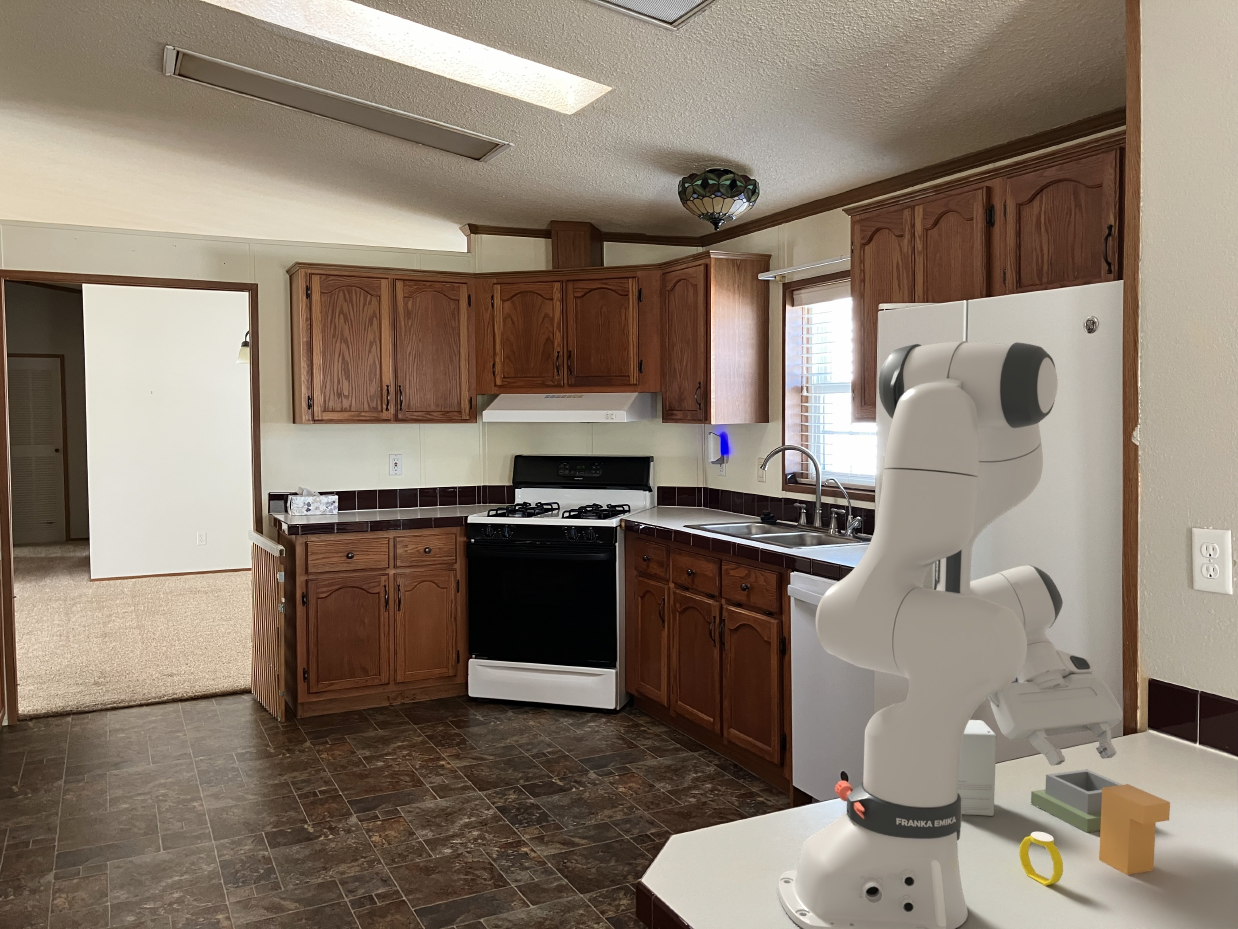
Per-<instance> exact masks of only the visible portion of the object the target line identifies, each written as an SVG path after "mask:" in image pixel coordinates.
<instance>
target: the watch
mask: <svg viewBox="0 0 1238 929" xmlns="http://www.w3.org/2000/svg"><path fill="white" fill-rule="evenodd" d="M1032 843H1034V844H1036V845H1038V846H1042V847H1045V848H1046V850H1047V851H1048V853H1049V855H1050V856H1051V857H1050V858H1051V860H1052V864H1053V865H1052V866H1053V868H1052V869H1053V873H1052V875H1051V878H1050V879H1048V878H1046V877H1044V876H1043V875H1041V874H1039V873H1037V872H1036V870H1035V869H1034V867H1033V865H1032V864H1031V860H1030V855H1029V853H1030V852H1029V850H1030V844H1032ZM1018 853H1019V859H1020V864H1021V866H1022V867H1021V868H1022V869H1023V870H1024V872H1025V874H1026V875H1027V876H1028V877H1029V878H1031V879H1033V880H1035V881H1036V882H1038V883H1039V884H1042V886H1045V887H1046V886H1051V885H1054V884H1056V883H1059V881H1060V880H1061V879H1062V876H1063V875H1064V874H1063V872H1064V862H1063V858H1062V856H1061V853H1060V850H1059V849H1058V847H1057V846H1056V845H1055V839H1054V836H1052V835H1051V834H1049V833H1048V832H1044V831H1043V832H1042V831H1032V832H1031V833H1030V835H1029V836H1026V837H1024V838H1023V840H1022V841H1021V843H1020V845H1019V852H1018Z"/></svg>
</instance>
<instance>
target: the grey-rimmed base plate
mask: <svg viewBox="0 0 1238 929" xmlns="http://www.w3.org/2000/svg"><path fill="white" fill-rule="evenodd" d="M1118 785H1123V783H1120V782H1118V781H1115V780H1113V779H1110V778H1108V777H1106V776H1104V775H1101V774H1099V773H1096V772H1094V771H1092V770H1090V769H1088V768H1086V769H1078V770H1070V771H1064V772H1063V771H1062V772H1056V773H1048V774H1045V789H1038V790H1037V789H1036V790H1032V791H1031V793H1030V804H1031V803H1032V804H1033V806H1034V805H1035V806H1034V807H1036V806H1038V807H1040V808H1041V809H1040V808H1039V809H1040V810H1042V809H1043V811H1044V810H1045V811H1044V812H1046V811H1047V812H1046V813H1048V814H1051V815H1052V814H1053V815H1052V816H1054V817H1056V818H1058V819H1059V818H1060V819H1059V820H1061V819H1062V821H1063V820H1064V822H1065V823H1068V824H1070V825H1071V826H1073V827H1075V828H1077V829H1079V830H1081V831H1083V832H1084V833H1092V832H1093V831H1094V832H1098V831H1099V830H1100V828H1101V806H1102V788H1104V787H1111V786H1118ZM1032 804H1031V805H1032ZM1038 807H1037V808H1038Z"/></svg>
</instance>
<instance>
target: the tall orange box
mask: <svg viewBox="0 0 1238 929" xmlns="http://www.w3.org/2000/svg"><path fill="white" fill-rule="evenodd" d="M1170 810H1171V802H1170V801H1168V800H1166V799H1163V798H1162V797H1159V796H1157V795H1154V794H1152V793H1150V792H1147V791H1145V790H1144V789H1140V788H1138V787H1136V786H1133V785H1131V784H1128V783H1127V784H1126V783H1125V784H1122V785H1118V786H1111V787H1104V788H1102V806H1101V828H1100V832H1099V833H1100V834H1099V852H1098V854H1099V856H1098V860H1099V861H1100V862H1102V863H1104V864H1106V865H1108V866H1110V867H1111V868H1112V869H1113V868H1114V869H1116V870H1117V871H1119V872H1121V873H1123V874H1124V875H1127V876H1129V875H1135V874H1140V873H1146V872H1151V871H1154V867H1155V866H1154V865H1155V846H1156V845H1155V843H1156V827H1157V826H1156V825H1157V824H1156V823H1161V822H1166V821H1170V812H1171V811H1170Z"/></svg>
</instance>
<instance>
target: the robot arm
mask: <svg viewBox="0 0 1238 929" xmlns="http://www.w3.org/2000/svg"><path fill="white" fill-rule="evenodd" d="M879 372H880V373H879V378H878V395H879V399H880V403H881V405H882V407H883V409H884V411H885V412H886V413H887V415H888V416H889V417H890V418H891V419H892V420H891V423H890V428H889V433H888V437H887V441H886V442H887V443H886V448H885V455H884V462H883V470H882V471H883V472H882V481H881V490H880V496H879V505H878V509H877V510H878V511H877V518H876V523H875V527H874V532H873V535H872V538H871V540H870V542H869V544H868V546H867V549H866V551H865V552H864V553H863V555H862V557H861V558H860V560H859V562H858V563H857V564H856V565H855V567H854V568H853V569H852V571H850V572H849V573H848V574H847V575H846V576H845V577H843V578H842V579H840V580H839V581H837V582H836V583H834V584H833V585H832V586H830V587H829V588H828V589H827V590H826V591H825V593H824V594H823V595H822V597H821V598H820V599H819V600H820V601H819V603H818V605H817V609H816V612H815V629H816V630H815V632H816V634H817V637H818V641H819V643H820V645H821V646H822V648H823V650H824V651H826V652H827V653H828V654H830V655H832V656H834V657H836V658H837V659H840V660H842V661H844V662H847V663H849V664H851V665H854V666H855V667H858V668H862V669H867V670H872V671H876V672H881V673H885V674H890V675H895V676H899V677H902V678H903V677H904V678H906V679H907V680H908V692H907V695H906V699H905V700H904V701H901V702H896V703H893V704H891V705H889V706H886V707H884V708H883V707H882V708H881V709H879V710H878V711H877V712H875V713H874V714H873V715H872V716H871V718H870V719H869V721H868V722H867V725H866V726H865V729H864V745H863V746H864V747H863V748H864V749H863V780H861V782H860V783H859V785H858V786H856V787H855V788H853V787H852V785H851V784H850V783H849V782H848V781H846V780H840V781H838V782H837V784H835V787H834V790H835V791H834V792H835V793H836V794H837V796H838V797H839V799H840V800H841V801H843V802H846V812H845V813H844V814H842V815H841V816H840V817H837V818H836V819H835V820H834V821H832V822H831V823H829V824H827V825H826V826H824V827H823V828H821V829H820V830H818V831H817V832H815V833H814V834H812V835H810V836H809V837H808V838H806V840H805V841H804V843H803V844H802V845H801V849H800V852H799V856H798V861H797V865H796V866H797V867H796V869H794V870H793V869H792V870H785V871H784V872H783V873H781V875H780V876H779V879H778V885H777V895H778V898H779V900H780V904H781V905H782V907H783V909H784V911H785V913H787V915H788V916H789V918H790V919H791V920H792V921H793V922H794V923H795V924H797V926H799V927H800V928H802V929H956V928H959V927H960V926H962V925H963V924H964V923H965V922H966V920H967V919H968V916H969V911H968V907H967V904H966V899H965V895H964V891H963V884H962V878H961V871H960V861H959V850H958V849H959V847H958V846H959V845H958V842H959V840H960V838H961V827H962V816H963V814H961V797H960V794H959V793H958V776H959V763H960V754H961V745H962V739H963V735H964V731H965V728H966V726H967V724H968V722H969V720H971V718H972V716H973V715H974V713H975V711H976V710H977V709H978V708H979V706H980V705H981V704H982V703H983V702H985V701H986V700H987V699H988V700H989V701H990V706H991V710H992V713H993V716H994V718H995V721H996V723H997V726H998V728H999V729H1000V732H1001V734H1002V735H1003V736H1004V737H1005V738H1007V739H1008V740H1009V741H1019V740H1020V741H1021V740H1028V741H1029V743H1031V746H1032V747H1034V748H1035V749H1036V750H1037V751H1038V752H1040V753H1041V754H1042V755H1043V756H1044V757H1045V758H1046V760H1047V762H1048V764H1049V765H1050V766H1051V767H1052V766H1059V765H1062V763H1065V760H1066V757H1065V756H1064V754H1063V752H1062V750H1061V748H1055V746H1053V745H1052V744H1051V743H1050V742H1049V741H1048V740H1047V738H1048V737H1054V736H1060V735H1061V736H1063V735H1070V734H1077V733H1087V732H1088V733H1089V732H1091V734H1092V735H1093V737H1095V738H1098V739H1097V740H1098V745H1099V746H1097V747H1096V748H1095V750H1096V751H1097V753H1098V754H1099V757H1100V758H1101V759H1103V760H1104V759H1105V760H1106V759H1112V758H1113V757H1114V756H1116V755H1117V750H1116V748H1115V747H1114V745H1113V743H1112V730H1111V729H1112V728H1113V727H1114V726H1116V725H1118V724H1119V723H1120V722H1122V719H1123V709H1122V707H1121V705H1120V703H1119V702H1118V701H1117V699H1116V697H1115V695H1114V694H1113V692H1112V691H1111V689H1110V688H1109V686H1108V685H1107V683H1106V682H1105V681H1104V680H1103V679H1102V678H1101V677H1100V676H1099V675H1097V674H1095V673H1094V671H1096V666H1095V665H1094V663H1093V661H1092V660H1091V659H1089V658H1088V657H1083V656H1080V655H1075V654H1073V653H1072V654H1071V653H1068V652H1067V651H1063V650H1060V649H1057V648H1056V646H1055V645H1054V644H1053V642H1052V641H1050V639H1049V638H1048V637H1047V635H1046V631H1047V629H1051V628H1052V627H1053V625H1054V624H1055V623H1056V620H1057V619H1058V616H1060V613H1061V610H1062V608H1063V597H1062V595H1061V593H1060V591H1059V589H1058V587H1057V585H1056V584H1055V582H1054V581H1053V579H1052V578H1051V576H1050V575H1049V574H1048V573H1046V572H1045V571H1044V570H1042V569H1041V568H1039V567H1037V566H1034V565H1031V564H1027V565H1019V566H1016V567H1012V568H1009V569H1005V570H1002V571H998V572H996V573H993V574H991V575H986V576H984V577H981V578H978V579H973V580H971V579H972V578H971V576H972V575H971V574H972V554H973V547H974V544H975V542H976V540H977V538H978V536H980V535H981V533H982V532H983V531H984V530H985V529H986V528H987V527H988V526H990V525H991V524H992V523H994V522H995V520H997V519H998V518H1000V517H1001V516H1003V515H1004V514H1006V513H1008V512H1009V511H1011V510H1012V509H1013V508H1015V507H1017V506H1018V505H1020V504H1021V503H1023V502H1024V501H1026V499H1027V498H1028V497H1029V496H1030V495H1031V494H1032V493H1033V492H1034V490H1035V489H1036V488H1037V487H1038V485H1039V483H1040V480H1041V478H1042V473H1043V466H1044V460H1043V459H1044V457H1043V448H1042V447H1043V445H1042V437H1041V431H1040V424H1039V423H1040V422H1042V421H1043V420H1044V419H1045V418H1046V417H1048V416H1049V414H1050V413H1051V412H1052V409H1053V408H1054V404H1055V401H1056V397H1057V394H1058V383H1059V381H1058V375H1057V374H1058V373H1057V370H1056V365H1055V361H1054V360H1053V357H1052V356H1051V355H1050V354H1049V353H1048V352H1047V351H1046V350H1045V349H1044V348H1043V347H1042V346H1040V345H1035V344H1030V343H1024V342H1017V341H1016V342H1014V343H1012V344H1009V343H997V342H977V341H975V342H971V341H970V342H969V341H967V340H961V341H960V340H959V341H957V340H956V341H946V342H939V343H938V342H937V343H931V344H925V345H921V344H920V343H919V344H918V343H915V344H914V343H913V344H911V345H909V344H908V345H905V346H902V347H899V348H896V349H894V350H893V351H892V352H891V353H890V354H889V355H888V356H887V358H885V360H884V362H883V364H882V366H881V368H880V371H879ZM933 564H935V565H934V585H933V589H932V588H924V586H925V585H924V583H925V580H926V576H927V574H928V572H929V570H930V569H931V568H932V566H933Z"/></svg>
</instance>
